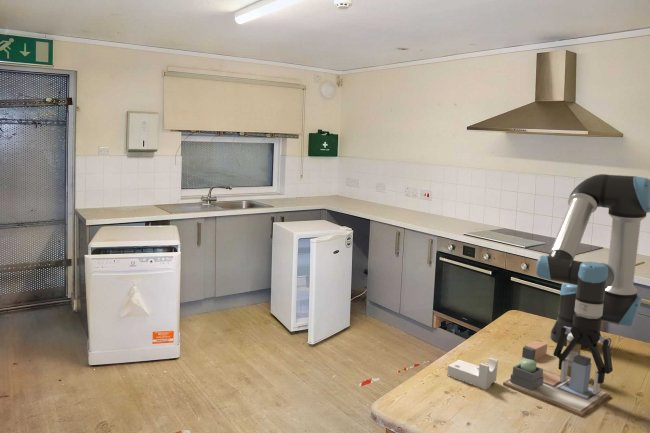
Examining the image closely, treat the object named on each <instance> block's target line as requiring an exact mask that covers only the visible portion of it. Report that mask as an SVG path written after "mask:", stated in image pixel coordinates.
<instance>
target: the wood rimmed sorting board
mask: <svg viewBox="0 0 650 433" xmlns="http://www.w3.org/2000/svg"><path fill="white" fill-rule="evenodd" d="M560 375H561V374H557V373H554V372H552V371H549V370H546V369H543V377H544V379H543V385H541V386H539V387H538V388H536V389H534V390H532V391H531V390H528V389H526V388H523V387H521V386H518V385H516V384H513V383H511V382H510V379H511V378H509V379H508V380H505V381H503V382H502V385H503V386H505V387H507V388H510V389H512V390H515V391H517V392H519V393H522V394H525V395H527V396H529V397H531V398H534V399H536V400H540V401H542V402H545V403H547V404H549V405H551V406H554V407H556V408H559V409H561V410H563V411H566V412H569V413H571V414H574V415H576V416H579V417H581V418H583V417H584V416H585V415H587V414H588V413H590V412H591V411H592V410H594V409H595V408H596V407H598V406H599V405H601V404H602V403H604V402H605V401H606V400H608V399H609V398H610V397H611V394H612V393H609V392H607V391H604V390H601V389H599V392H598V393H597V394H593V387H594V386H591V385H589V388H588V390H587V391H586V392H584V393H583V394H582V393H580V392H577V391H574V390H572V389H569V385H570V378H568V377H566V380H565V381H563V382H560Z"/></svg>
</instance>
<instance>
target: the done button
mask: <svg viewBox="0 0 650 433" xmlns="http://www.w3.org/2000/svg"><path fill="white" fill-rule="evenodd" d="M520 363H521V368H520V369H522V370H524V371H527V372H530V373H534V372H536V367H537V364H538V363H537V362H536V361H535V360H530V359H526V358H522V359H521V360H520Z"/></svg>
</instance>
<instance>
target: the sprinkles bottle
mask: <svg viewBox="0 0 650 433" xmlns="http://www.w3.org/2000/svg"><path fill="white" fill-rule="evenodd" d="M573 338H574V337H573V335H572V333H569V334H568V336H567V346H568V345H569V344H570V342H571V341H572V340H573ZM567 346H566V347H565V349H566V348H567ZM581 350H582V348H581V345H580V344H577V345H576V346H575V347H574V348H573V350H572V351H571V352H570V353H569V355H568V356H567V358H565V359H567V360H568V368H567V376H569V377H571V369H572V362H573V360H574V357H575V356H577V355H579V354H580V355H581Z"/></svg>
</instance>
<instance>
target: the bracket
mask: <svg viewBox="0 0 650 433" xmlns="http://www.w3.org/2000/svg"><path fill="white" fill-rule="evenodd" d="M498 362H499V360H498V359H497V358H496V359H495V358H493V357H489V358H488V361H487V363H486V364H485V363H482V362H480V363H479V365H477V364H473V363H471V362H467V361H464V360H462V359H458V360H455V361H454V362H452V363H450V364H448V366H447V374H446V375H447V376H448V375H449V376H448V377H450V376H452V378H453V377H455V378H454V379H456V378H457V380H459V381H461V380H462V381H461V382H464V381H465V382H464V383H467V384H469V383H470V385H472V384H473V386H475V387H479V388H480V389H483V390H487V389H488V388H490V387H491V385H492V384H493V383H494V382H496V381H497V377H498V376H497V375H498Z"/></svg>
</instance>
